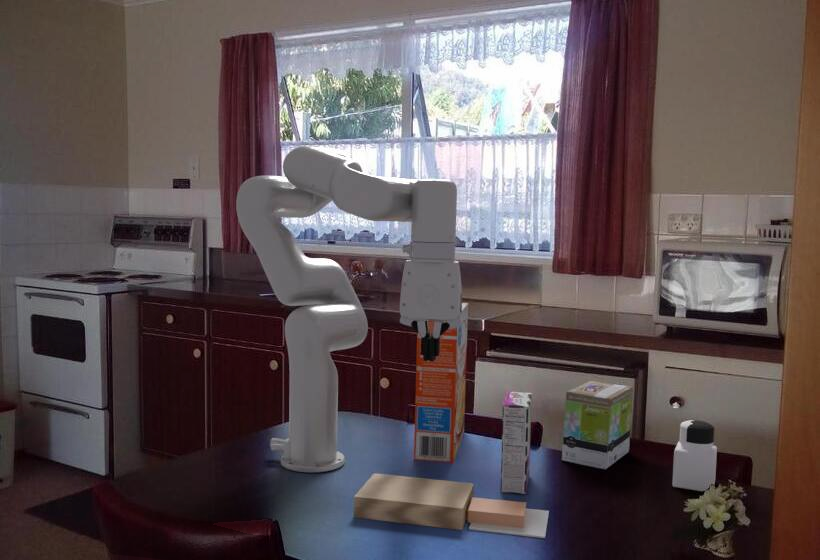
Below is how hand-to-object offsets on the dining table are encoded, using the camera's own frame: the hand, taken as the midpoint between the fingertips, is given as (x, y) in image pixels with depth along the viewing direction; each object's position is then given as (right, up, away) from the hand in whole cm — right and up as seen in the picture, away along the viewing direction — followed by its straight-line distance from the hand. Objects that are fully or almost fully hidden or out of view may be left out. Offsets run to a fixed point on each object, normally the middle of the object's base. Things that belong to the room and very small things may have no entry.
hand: (429, 359), depth 133 cm
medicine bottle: (+51, -25, +15) cm, 59 cm away
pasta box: (+3, -22, +36) cm, 43 cm away
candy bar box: (+16, -25, +13) cm, 32 cm away
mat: (+13, -26, -5) cm, 30 cm away
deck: (-3, -25, -2) cm, 25 cm away
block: (+11, -26, -5) cm, 28 cm away
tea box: (+36, -24, +31) cm, 53 cm away
